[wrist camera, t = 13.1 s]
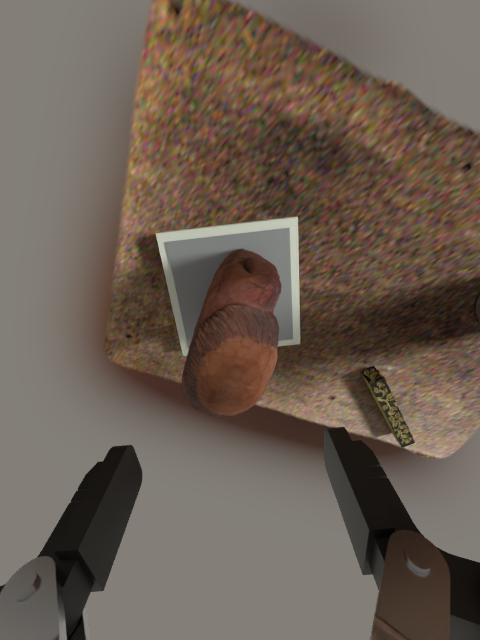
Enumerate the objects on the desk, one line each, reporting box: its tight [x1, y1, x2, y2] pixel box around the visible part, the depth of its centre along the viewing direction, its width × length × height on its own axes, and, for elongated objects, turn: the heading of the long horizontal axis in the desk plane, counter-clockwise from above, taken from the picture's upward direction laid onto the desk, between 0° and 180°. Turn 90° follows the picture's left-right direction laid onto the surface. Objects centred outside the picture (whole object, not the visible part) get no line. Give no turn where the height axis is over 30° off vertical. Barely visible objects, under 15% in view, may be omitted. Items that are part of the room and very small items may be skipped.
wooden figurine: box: [182, 248, 282, 417], centre depth 23 cm, size 12×6×18 cm, turn 161°
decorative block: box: [361, 366, 415, 447], centre depth 41 cm, size 15×2×4 cm, turn 32°
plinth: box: [156, 217, 300, 356], centre depth 33 cm, size 16×16×4 cm
